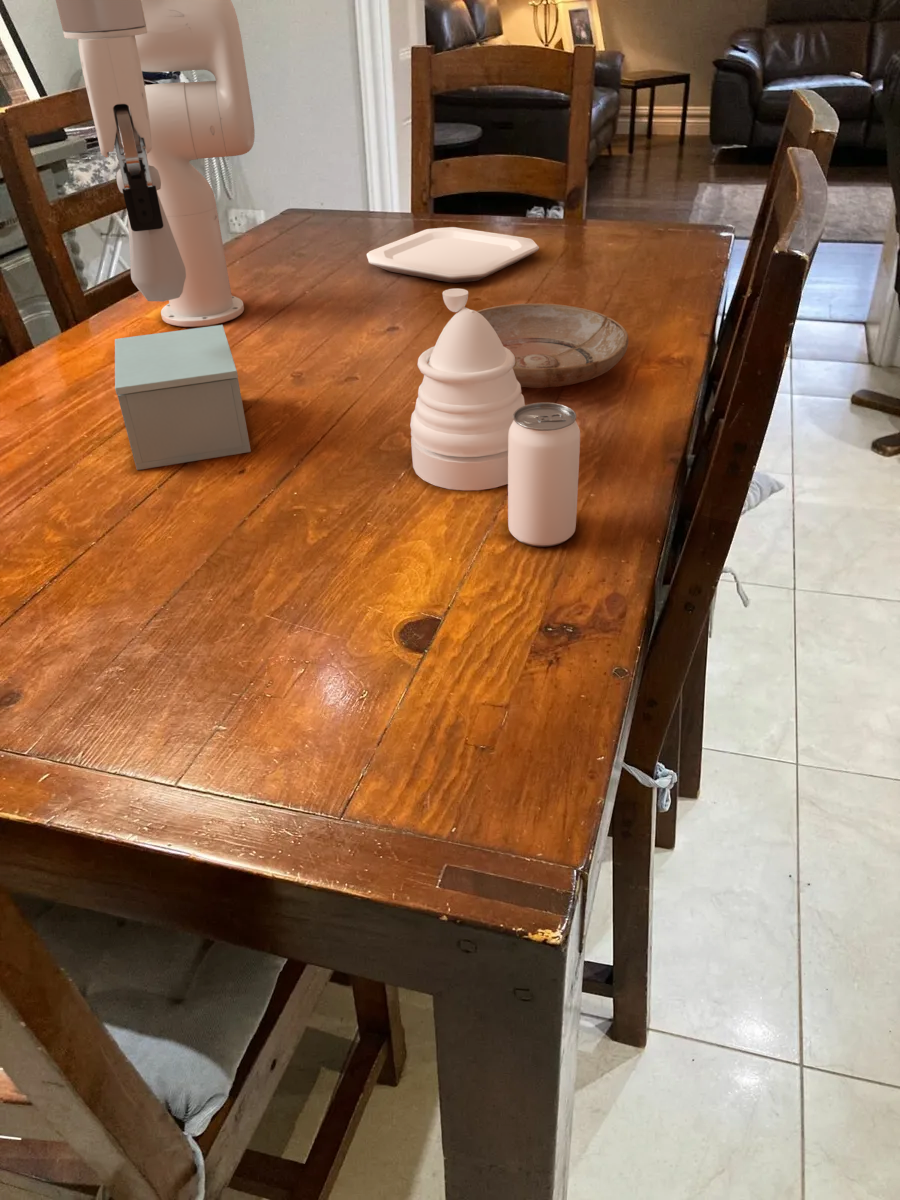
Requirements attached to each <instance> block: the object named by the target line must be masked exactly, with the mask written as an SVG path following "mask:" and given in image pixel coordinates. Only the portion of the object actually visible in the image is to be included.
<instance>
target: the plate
mask: <svg viewBox="0 0 900 1200" xmlns="http://www.w3.org/2000/svg"><path fill="white" fill-rule="evenodd" d="M539 250H540V246H539V245H538V243H536V242H535V241H534V239H532V238H530V237H525V236H524V237H523V236H517V235H510V234H503V233H496V232H489V231H483V230H476V229H470V228H462V227H456V226H449V227H447V226H446V227H437V228H435V227H434V228H427V229H423V230H420V231H418V232H416V233H413V234H411V235H408V236H405V237H402V238H400V239H398V240H395V241H392V242H390V243H387V244H384V245H382V246H380V247H377V248H374V249H372V250H370V251H368V252H367V253H366V258H367V261H368V264H369V265H371V266H374V267H377V268H380V269H383V270H385V271H387V272H391V273H397V274H401V275H407V276H413V277H417V278H423V279H429V280H435V281H439V282H445V283H450V284H452V283H453V284H455V283H457V284H458V283H469V282H477V281H480V280H482V279H485V278H487V277H488V276H490V275H493V274H494V273H497V272H498V271H501V270H503V269H505V268H507V267H509V266H511V265H514V264H516V263H518V262H520V261H522V260H523V259H526V258H527V257H529V256H530V255H533V254H534V253H536V252H538V251H539Z"/></svg>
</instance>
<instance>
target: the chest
mask: <svg viewBox="0 0 900 1200" xmlns="http://www.w3.org/2000/svg"><path fill="white" fill-rule="evenodd" d="M117 399H118V404H119V407H120V411H121V415H122V418H123V422H124V427H125V429H126V430H125V431H126V434H127V437H128V441H129V445H130V449H131V452H132V456H133V461H134V464H135V468H136V471H141V470H147V469H148V470H149V469H154V468H160V467H166V466H173V465H178V464H184V463H190V462H196V461H202V460H210V459H214V458H223V457H229V456H233V455H240V454H246V453H251V452H252V450H251V445H250V439H249V438H250V437H249V433H248V427H247V421H246V415H245V410H244V405H243V398H242V393H241V388H240V383H239V377H238V378H232V379H225V380H218V381H211V382H204V383H197V384H190V385H183V386H176V387H169V388H162V389H156V390H149V391H142V392H135V393H128V394H121V395H117Z"/></svg>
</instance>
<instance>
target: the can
mask: <svg viewBox="0 0 900 1200" xmlns="http://www.w3.org/2000/svg"><path fill="white" fill-rule="evenodd" d="M513 419H514V420H513V422H512V424H511V426H510V429H509V435H508V484H507V518H508V519H507V526H508V530H509V533H510V535H512V536H513V537H514V539H515V540H517V541H518V542H520V543H521V544H524V545H527V546H530V547H538V548H539V547H540V548H546V547H554V546H559V545H562V544H564V543H565V542H566V541H569V540H570V538H572V536H573V535H574V534H575V532H576V527H577V526H576V525H577V511H578V496H579V495H578V492H579V475H580V474H579V473H580V472H579V471H580V470H579V469H580V451H581V429H580V426H579V424H578V422H577V421H576V420H577V413H576V411H575V410H573V409H572V408H571V407H569V406H567V405H565V404H561V403H555V402H533V403H528V404H525V406H522V407H520V408H519V409H517V410H516V411H515V412H514V414H513Z"/></svg>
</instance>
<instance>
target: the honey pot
mask: <svg viewBox="0 0 900 1200" xmlns="http://www.w3.org/2000/svg"><path fill="white" fill-rule="evenodd" d="M468 299H469V291H468V290H467V289H465V288H448V289H445V290H443V291H442V300H443V303H444V305H445V306H446V308H447V310H449V311H450V312H452V313H454V315H453V316H452V317H451V318H450V319H449V320H448V322H447V323H446V324H445V326H444V327H443V329H442V331H441V333H440V334H439V336H438V338H437V340H436V342H435V345H434V346H431V347H429V348H428V349H426V350H424V351H423V352H422V353H421V354H420V355H419V357H418V358H417V363H416V364H417V368H418V369H419V372H420V373H421V374H422V375H423V378H422V382H421V384H419V386H418V391H417V398H416V400H415V406H414V410H413V411H412V413H411V415H410V416H411V417H410V425H409V426H410V436H411V437H410V444H411V459H412V468H413V470H414V473H415V474H416V475H417V476H418V477H419V478H420V479H421V480H423V482H427V483H428V484H431V485H432V486H436V487H440V488H443V489H447V490H454V491H484V490H489V489H497V488H498V487H502V486H505V485H508V435H509V429H510V426H511V424H512V422H513V420H514V419H513V414H514V412H515V411H516V410H517V409H519V408H520V407H522V406H525V405H526V402H525V397H524V395H523V394H522V387H521V385H520V383H519V382H518V381H517V379H516V376H515V374H514V371H513V366H514V365H515V357H514V355H513V353H512V352H511V351H510V350H509V349H507V348H505V347H504V346H503V345H502V343H501V341H500V339H499V337H498V335H497V334H496V332H495V330H494V329H493V327H492V326H491V325H490V323H489V322H488V321H487V320H486V319H485V318H484V317H483V316H482V315H481V314H480V313H478V312H476V311H477V310H475V309H470V308H468V307H466V305H467V302H468Z"/></svg>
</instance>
